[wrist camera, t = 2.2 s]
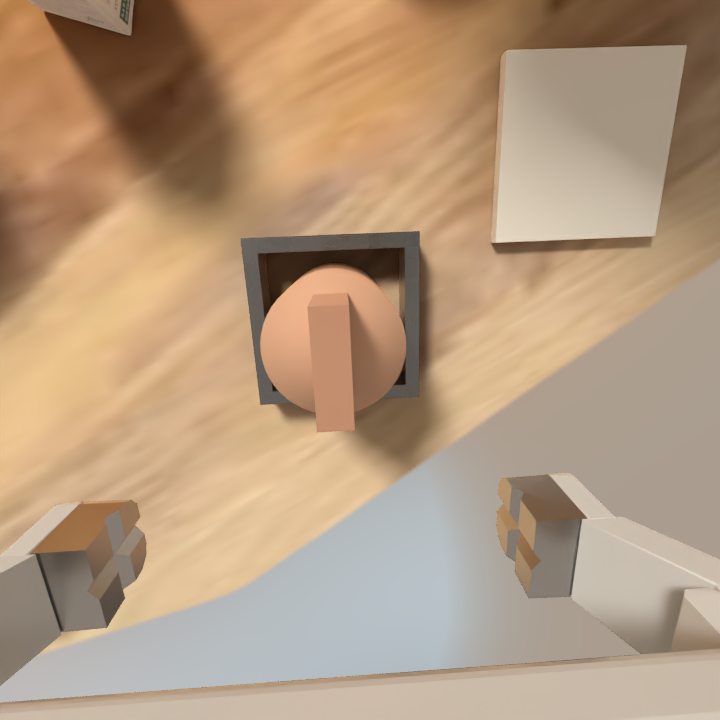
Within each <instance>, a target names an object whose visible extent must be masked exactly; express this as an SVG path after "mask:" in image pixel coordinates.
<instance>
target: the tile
mask: <svg viewBox="0 0 720 720" xmlns="http://www.w3.org/2000/svg"><path fill="white" fill-rule="evenodd" d="M686 49H687V45H669V46H632V47H594V48H557V49H520V50H506V51H505V52H504V53H503V55H502V56H501V63H500V82H499V100H498V119H497V137H496V156H495V174H494V193H493V211H492V230H491V243H500V242H525V241H549V240H573V239H597V238H621V237H645V236H655V233H656V227H657V221H658V215H659V210H660V204H661V198H662V192H663V186H664V180H665V174H666V168H667V162H668V156H669V150H670V144H671V138H672V132H673V126H674V120H675V114H676V108H677V102H678V96H679V90H680V84H681V79H682V73H683V67H684V61H685V55H686Z"/></svg>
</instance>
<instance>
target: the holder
mask: <svg viewBox="0 0 720 720" xmlns="http://www.w3.org/2000/svg"><path fill="white" fill-rule="evenodd" d="M419 243H420V231H415V232H390V233H366V234H341V235H316V236H291V237H267V238H242V239H241V246H242V254H243V263H244V271H245V279H246V288H247V296H248V304H249V313H250V321H251V329H252V338H253V346H254V354H255V363H256V371H257V379H258V387H259V396H260V404H261V405H265V404H284V403H292V402H291V401H289V400H288V399H287V398H285V397H284V396H283V395H282V394H281V393H280V392H279V391H278V390H277V388H276V387H275V386H274V385H273V383H272V382H271V380H270V379H269V377H268V375H267V372H266V370H265V368H264V365H263V361H262V356H261V348H260V340H261V332H262V327H263V324H264V321H265V318H266V316H267V314H268V312H269V310H270V308H271V301H270V291H269V282H268V272H267V262H266V253H280V252H304V251H328V250H352V249H376V248H399V303H400V318H401V320H402V323H403V326H404V330H405V335H406V355H405V360H404V364H403V367H402V370H401V373H400V375H399V377H398V379H397V380H396V382H395V383H394V385H393V386H392V388H391V389H390V390H389V391H388V392H387V393H386V394H385V395H384V396H383V397H382V398H397V397H416V396H419Z"/></svg>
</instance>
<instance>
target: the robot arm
mask: <svg viewBox="0 0 720 720" xmlns="http://www.w3.org/2000/svg"><path fill="white" fill-rule="evenodd" d="M498 495H499V497H500V499H501V500H502V502H503V505H502V506H501V507H500V508H499V510H498V511H497V531H498V537H499V540H500V543H501V546H502V548H503V550H504V552H505V554H506V556H508V557H509V558H511V559H512V560H513V561H515V573H516V575H517V577H518V579H519V581H520V583H521V585H522V586H523V588H524V590H525V592H526V594H527V596H528V598H547V597H571V599H572V600H573V601H575V602H576V603H577V604H578V605H580V606H581V607H582V608H583V609H585V610H586V611H587V612H588V613H590V614H591V615H592V616H593V617H595V618H596V619H597V620H599V621H600V622H601V623H602V624H604V625H605V626H606V627H608V628H609V629H610V630H611V631H612V632H614V633H615V634H616V635H618V636H619V637H620V638H621V639H623V640H624V641H625V642H626V643H628V644H629V645H630V646H631V647H633V648H634V649H635V650H636V651H638V652H639V653H640V655H628V656H627V655H626V656H613V657H601V658H588V659H575V660H562V661H550V662H538V663H525V664H510V665H497V666H483V667H469V668H455V669H442V670H427V671H414V672H400V673H386V674H372V675H359V676H347V677H333V678H319V679H306V680H293V681H280V682H267V683H255V684H241V685H228V686H215V687H202V688H188V689H175V690H162V691H149V692H137V693H136V692H135V693H122V694H109V695H95V696H82V697H69V698H55V699H42V700H30V701H15V702H2V703H0V720H720V559H718V558H715V557H713V556H711V555H708V554H706V553H704V552H702V551H699V550H697V549H695V548H692V547H690V546H688V545H686V544H683V543H681V542H679V541H676V540H674V539H672V538H670V537H667V536H665V535H663V534H660V533H658V532H656V531H654V530H651V529H649V528H647V527H644V526H642V525H640V524H638V523H635V522H633V521H631V520H628V519H626V518H624V517H614V516H613V515H612V514H611V513H610V512H609V511H608V510H607V509H606V508H605V507H604V506H603V505H602V504H601V503H600V502H599V501H598V500H597V499H596V498H595V497H594V496H593V495H592V494H591V493H590V492H589V491H588V490H587V489H586V488H585V487H584V486H583V485H582V484H581V483H580V482H579V481H578V480H577V479H576V478H575V477H574V476H573V475H572V474H569V473H567V472H566V473H556V474H546V475H537V476H525V477H512V478H501V480H500V483H499V489H498ZM139 518H140V513H139V510H138V506H137V503H135V502H134V501H132V500H116V501H90V502H71V503H62V504H58V505H55V506H54V507H53V508H52V509H51V510H50V511H49V512H48V513H46V514H45V515H44V516H43V517H42V518H41V519H40V520H39V521H38V522H37V523H35V524H34V525H33V526H32V527H31V528H30V529H29V530H28V531H27V532H26V533H24V534H23V535H22V536H21V537H20V538H19V539H18V540H17V541H16V542H15V543H13V544H12V545H11V546H10V547H9V548H8V549H7V550H6V551H5V552H4V553H2V554H1V555H0V686H1V685H2V684H3V683H4V682H5V681H7V680H8V679H9V678H10V677H11V676H12V675H14V674H15V673H16V672H17V671H18V670H20V669H21V668H22V667H23V666H24V665H26V664H27V663H28V662H29V661H30V660H32V659H33V658H34V657H35V656H36V655H38V654H39V653H40V652H41V651H42V650H44V649H45V648H46V647H47V646H48V645H50V644H51V643H52V642H53V641H54V640H55V639H57V638H58V637H59V636H60V635H61V632H69V631H79V630H89V629H99V628H107V627H108V625H109V623H110V622H111V620H112V618H113V617H114V615H115V614H116V612H117V610H118V609H119V607H120V605H121V604H122V602H123V601H124V599H125V597H124V593H123V589H124V588H126V587H127V586H129V585H130V584H131V583H133V582H134V581H135V580H136V579H137V577H138V576H139V574H140V572H141V570H142V569H143V565H144V561H145V557H146V539H145V535H144V533H143V532H142V531H141V530H140V529H139V528H138V527H136V526H135V525H136V523H137V521H138V520H139Z"/></svg>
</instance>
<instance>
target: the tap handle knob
mask: <svg viewBox="0 0 720 720" xmlns="http://www.w3.org/2000/svg"><path fill="white" fill-rule="evenodd" d="M260 348H261V356H262V361H263V365H264V368H265V370H266V372H267V375H268V377H269V379H270V380H271V382H272V383H273V385H274V386H275V387H276V388H277V390H278V391H279V392H280V393H281V394H282V395H283V396H284V397H285V398H287V399H288V400H289V401H291V402H292V403H294V404H295V405H297V406H299V407H301V408H303V409H305V410H308V411H311V412H314V413H316V425H317V432H331V431H349V430H355V423H354V412H357V411H360V410H362V409H365V408H367V407H369V406H370V405H372V404H374V403H375V402H377V401H378V400H380V399H381V398H382V397H383V396H384V395H385V394H386V393H387V392H388V391H389V390H390V389H391V388H392V386H393V385H394V383H395V382H396V380H397V379H398V377H399V375H400V373H401V370H402V367H403V364H404V360H405V355H406V335H405V330H404V326H403V323H402V320H401V318H400V316H399V314H398V312H397V310H396V308H395V307H394V306H393V304H392V303H391V301H390V300H389V299H388V297H387V296H386V295H385V293H384V292H383V291H382V290H381V288H380V287H379V286H378V284H377V283H376V282H375V281H374V280H373V278H372V277H371V276H369V275H368V274H367V273H366V272H364V271H363V270H361V269H359V268H357V267H355V266H352V265H349V264H344V263H326V264H322V265H319V266H316V267H314V268H312V269H310V270H308V271H307V272H306V273H304V274H303V275H302V276H301V277H300V278H299V279H297V280H296V281H295V282H294V283H293V284H292V285H291V286H290V287H289V288H288V289H287V290H286V291H285V292H284V293H283V294H282V295H281V296H280V297H279V298H278V299H277V300H276V301H275V303H274V304H273V305H272V307H271V308H270V310H269V312H268V314H267V316H266V318H265V321H264V324H263V327H262V332H261V340H260Z"/></svg>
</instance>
